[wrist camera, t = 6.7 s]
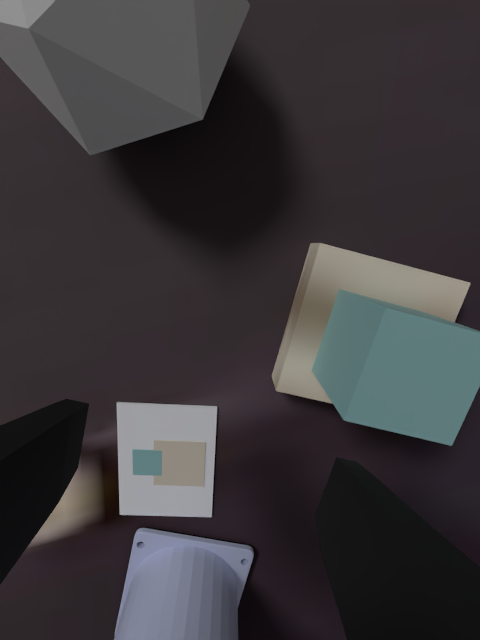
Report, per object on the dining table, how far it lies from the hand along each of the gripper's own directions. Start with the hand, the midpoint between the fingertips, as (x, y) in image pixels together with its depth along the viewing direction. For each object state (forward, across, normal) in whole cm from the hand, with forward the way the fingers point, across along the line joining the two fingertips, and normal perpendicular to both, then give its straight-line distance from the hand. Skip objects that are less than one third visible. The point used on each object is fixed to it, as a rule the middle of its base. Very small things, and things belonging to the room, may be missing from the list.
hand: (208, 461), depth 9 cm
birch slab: (+10, -7, -3) cm, 13 cm away
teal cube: (+8, -7, -3) cm, 11 cm away
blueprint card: (+10, +2, +8) cm, 13 cm away
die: (+10, +7, -13) cm, 18 cm away
